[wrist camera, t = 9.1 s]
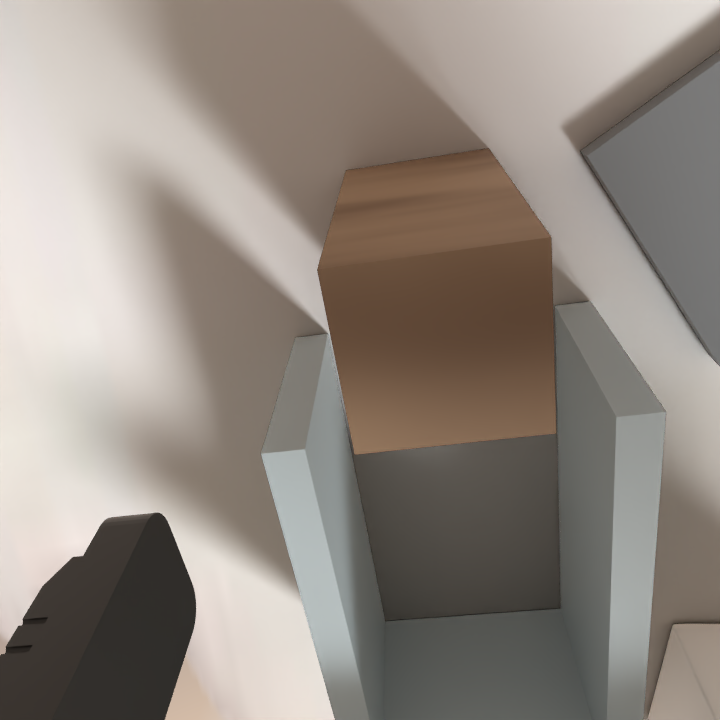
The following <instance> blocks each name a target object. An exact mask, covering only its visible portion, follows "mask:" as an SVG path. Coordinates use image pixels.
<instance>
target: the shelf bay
mask: <svg viewBox="0 0 720 720" xmlns="http://www.w3.org/2000/svg"><path fill="white" fill-rule="evenodd" d="M555 327H556V381H557V435H558V488H559V542H560V596H561V609H548V610H534V611H520V612H507V613H493V614H479V615H465V616H451V617H438V618H424V619H410V620H396V621H385V618H384V613H383V608H382V603H381V598H380V593H379V588H378V583H377V578H376V573H375V568H374V563H373V558H372V553H371V548H370V543H369V538H368V533H367V528H366V523H365V518H364V513H363V508H362V502H361V497H360V492H359V487H358V482H357V477H356V472H355V467H354V462H353V457H352V452H351V447H350V442H349V437H348V432H347V427H346V422H345V417H344V412H343V407H342V402H341V397H340V392H339V387H338V382H337V377H336V372H335V367H334V362H333V357H332V352H331V347H330V342H329V337H328V334H321V335H313V336H305V337H297V338H295V340H294V344H293V347H292V350H291V354H290V357H289V361H288V364H287V367H286V371H285V374H284V377H283V381H282V384H281V388H280V391H279V394H278V398H277V401H276V404H275V408H274V411H273V415H272V418H271V421H270V425H269V428H268V431H267V435H266V438H265V442H264V445H263V448H262V452H261V456H262V460H263V463H264V467H265V470H266V474H267V478H268V481H269V485H270V488H271V492H272V495H273V499H274V503H275V506H276V510H277V513H278V517H279V521H280V524H281V528H282V531H283V535H284V538H285V542H286V546H287V549H288V553H289V556H290V560H291V564H292V567H293V571H294V574H295V578H296V582H297V585H298V589H299V592H300V596H301V599H302V603H303V607H304V610H305V614H306V617H307V621H308V625H309V628H310V632H311V635H312V639H313V642H314V646H315V650H316V653H317V657H318V660H319V664H320V668H321V671H322V675H323V678H324V682H325V685H326V689H327V693H328V696H329V700H330V703H331V707H332V711H333V714H334V718H335V720H643V719H644V706H645V692H646V679H647V665H648V651H649V638H650V624H651V611H652V597H653V584H654V570H655V556H656V543H657V529H658V516H659V502H660V488H661V475H662V461H663V448H664V434H665V421H666V411H665V409H664V408H663V407H662V405H661V404H660V402H659V401H658V399H657V398H656V396H655V395H654V393H653V392H652V390H651V389H650V387H649V386H648V385H647V383H646V382H645V380H644V379H643V377H642V376H641V374H640V373H639V371H638V370H637V368H636V367H635V365H634V364H633V363H632V361H631V360H630V358H629V357H628V355H627V354H626V352H625V351H624V349H623V348H622V346H621V345H620V343H619V342H618V341H617V339H616V338H615V336H614V335H613V333H612V332H611V330H610V329H609V327H608V326H607V324H606V323H605V321H604V320H603V319H602V317H601V316H600V314H599V313H598V311H597V310H596V308H595V307H594V305H593V304H592V302H591V301H589V302H581V303H573V304H565V305H557V306H555Z"/></svg>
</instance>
